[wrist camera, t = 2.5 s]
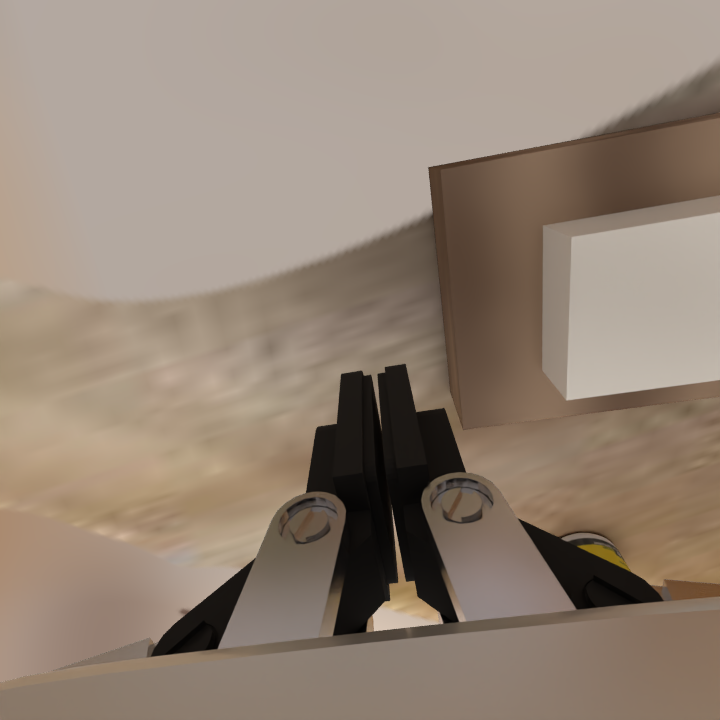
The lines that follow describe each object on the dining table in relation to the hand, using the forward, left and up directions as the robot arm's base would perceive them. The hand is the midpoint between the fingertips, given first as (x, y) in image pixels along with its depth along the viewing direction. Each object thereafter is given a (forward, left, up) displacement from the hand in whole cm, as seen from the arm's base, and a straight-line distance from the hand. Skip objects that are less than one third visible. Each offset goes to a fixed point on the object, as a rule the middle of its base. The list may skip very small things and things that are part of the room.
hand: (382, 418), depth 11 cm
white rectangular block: (-11, 0, -7) cm, 13 cm away
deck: (-10, 0, -11) cm, 14 cm away
